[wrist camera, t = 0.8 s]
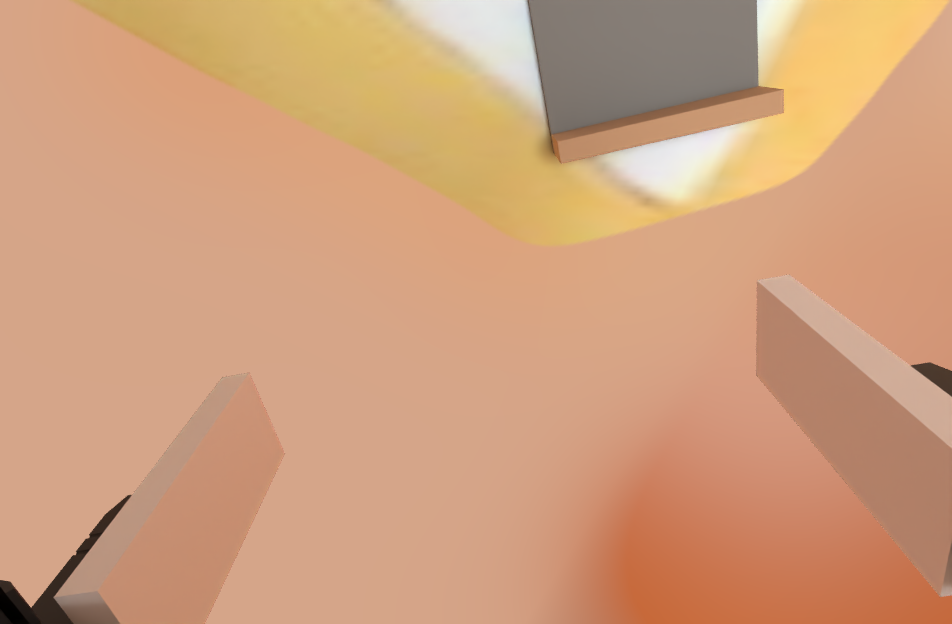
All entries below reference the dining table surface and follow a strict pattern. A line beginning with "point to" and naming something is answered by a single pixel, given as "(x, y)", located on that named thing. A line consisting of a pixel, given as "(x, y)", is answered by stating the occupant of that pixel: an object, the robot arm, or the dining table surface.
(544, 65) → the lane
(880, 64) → the dining table surface
